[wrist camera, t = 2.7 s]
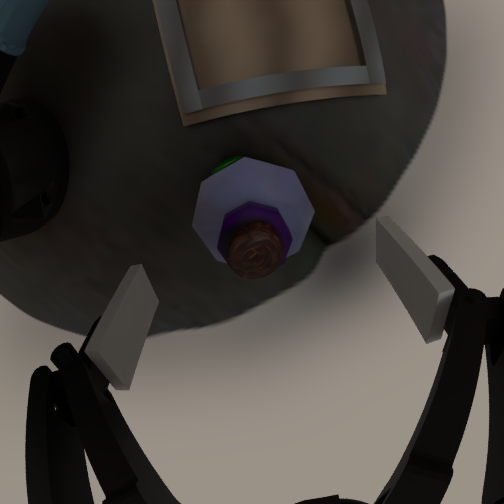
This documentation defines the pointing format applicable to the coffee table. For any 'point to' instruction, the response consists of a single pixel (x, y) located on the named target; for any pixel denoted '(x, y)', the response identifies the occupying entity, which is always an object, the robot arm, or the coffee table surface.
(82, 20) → the coffee table surface
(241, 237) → the potion bottle
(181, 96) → the jig plate
